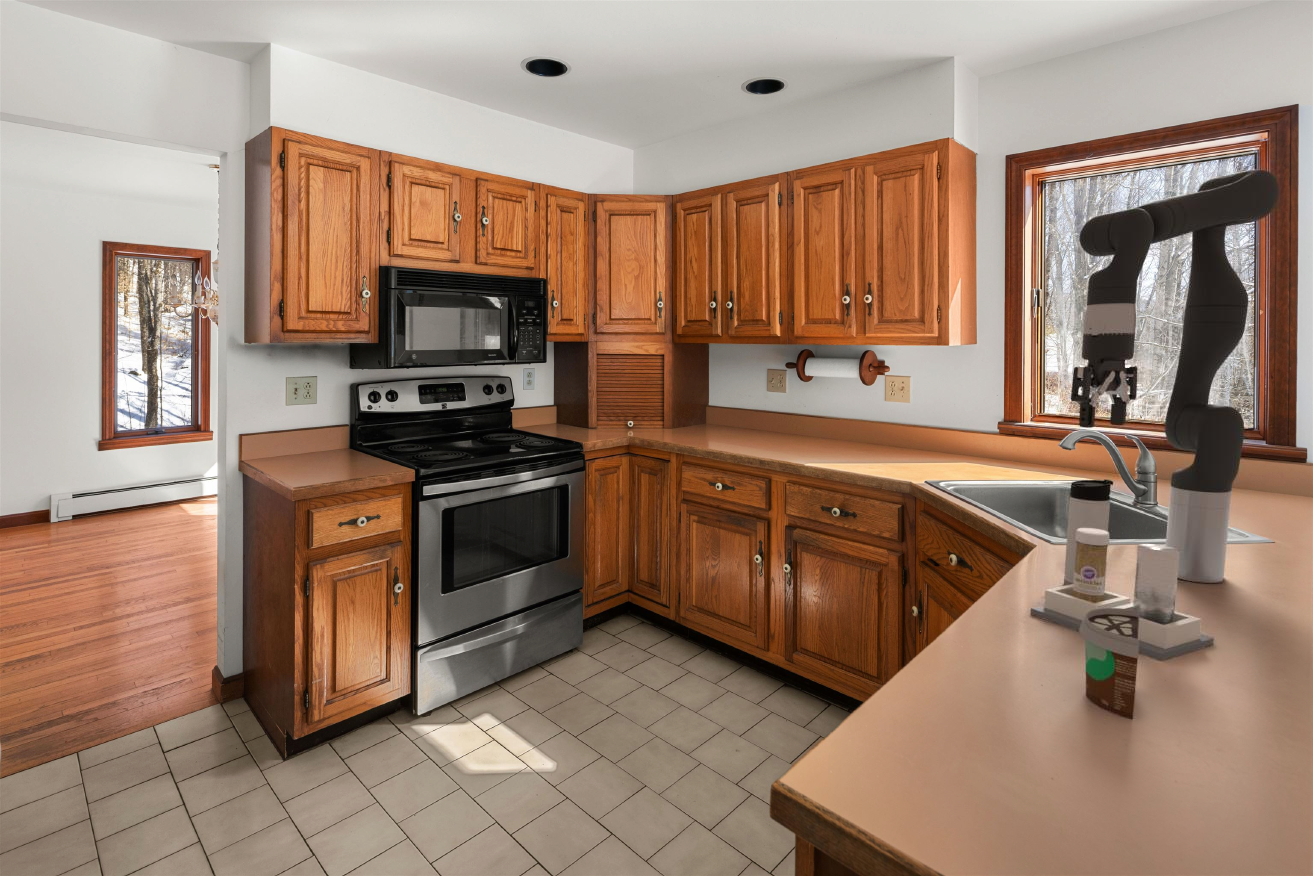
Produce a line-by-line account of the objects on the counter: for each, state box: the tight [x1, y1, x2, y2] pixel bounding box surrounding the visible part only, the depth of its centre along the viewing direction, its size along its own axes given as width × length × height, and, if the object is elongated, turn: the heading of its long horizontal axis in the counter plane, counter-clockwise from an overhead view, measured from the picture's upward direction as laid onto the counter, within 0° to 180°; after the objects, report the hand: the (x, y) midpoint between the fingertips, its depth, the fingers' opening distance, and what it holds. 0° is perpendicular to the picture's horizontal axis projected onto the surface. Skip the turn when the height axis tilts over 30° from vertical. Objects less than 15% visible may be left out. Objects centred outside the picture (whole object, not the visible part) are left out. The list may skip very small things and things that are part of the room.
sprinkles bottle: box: [1073, 528, 1111, 603], centre depth 114 cm, size 5×5×14 cm
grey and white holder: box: [1030, 584, 1215, 662], centre depth 110 cm, size 13×20×4 cm, turn 26°
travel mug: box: [1063, 479, 1114, 586], centre depth 129 cm, size 6×7×20 cm
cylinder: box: [1132, 543, 1179, 625], centre depth 104 cm, size 5×5×13 cm
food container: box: [1078, 608, 1140, 720], centre depth 87 cm, size 12×6×10 cm, turn 145°
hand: (1102, 426), depth 122 cm, fingers open, 8 cm apart
